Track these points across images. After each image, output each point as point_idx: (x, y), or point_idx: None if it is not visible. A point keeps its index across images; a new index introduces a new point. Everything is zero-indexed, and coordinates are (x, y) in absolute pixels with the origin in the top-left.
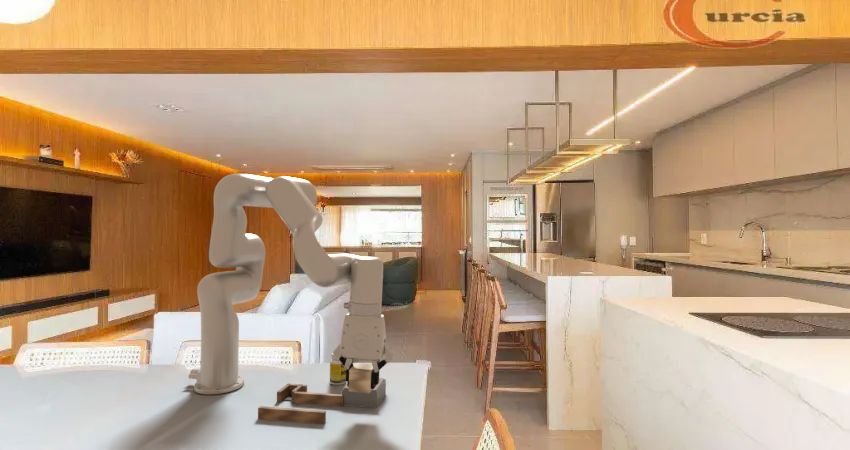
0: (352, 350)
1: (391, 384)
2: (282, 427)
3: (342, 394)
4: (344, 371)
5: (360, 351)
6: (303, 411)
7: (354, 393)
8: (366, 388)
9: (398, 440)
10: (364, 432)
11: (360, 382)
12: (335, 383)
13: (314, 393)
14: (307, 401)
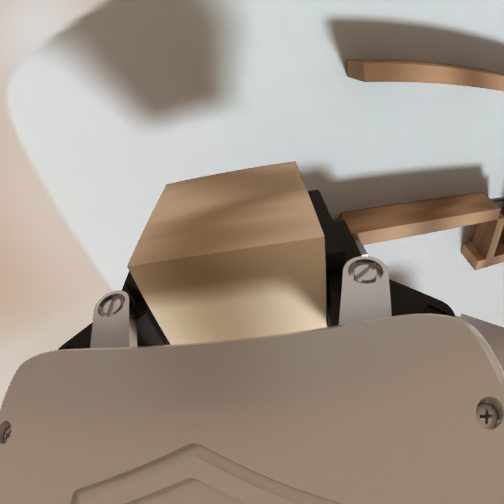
0: (338, 431)
1: None
2: (456, 23)
3: (358, 241)
4: None
5: (189, 438)
6: (441, 67)
7: None
8: (179, 193)
9: (30, 68)
10: (154, 50)
11: (216, 201)
12: None
13: (451, 222)
14: (454, 200)
